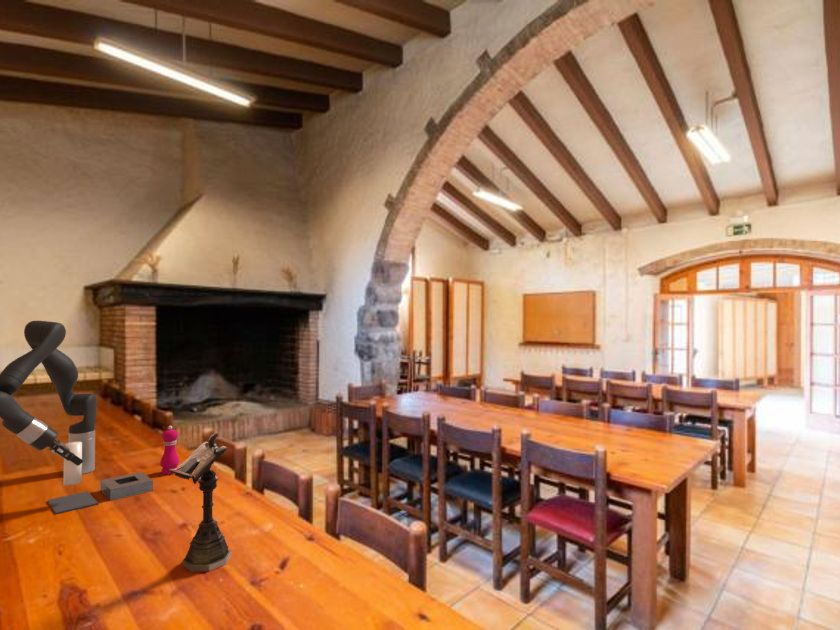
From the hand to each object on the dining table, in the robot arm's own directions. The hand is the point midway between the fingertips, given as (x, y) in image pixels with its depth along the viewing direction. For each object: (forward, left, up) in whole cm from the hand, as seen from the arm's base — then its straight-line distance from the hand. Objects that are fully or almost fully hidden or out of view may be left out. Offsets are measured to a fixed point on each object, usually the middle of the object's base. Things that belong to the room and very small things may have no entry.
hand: (78, 461), depth 171 cm
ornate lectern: (+76, +13, -15) cm, 78 cm away
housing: (0, +15, -14) cm, 21 cm away
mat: (0, -2, -14) cm, 15 cm away
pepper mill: (-11, +34, -15) cm, 39 cm away
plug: (0, -2, -7) cm, 7 cm away
